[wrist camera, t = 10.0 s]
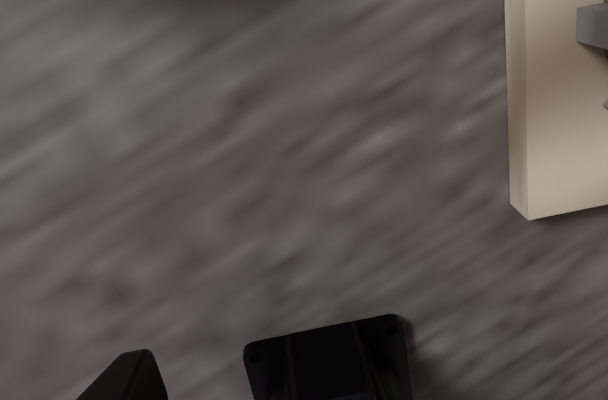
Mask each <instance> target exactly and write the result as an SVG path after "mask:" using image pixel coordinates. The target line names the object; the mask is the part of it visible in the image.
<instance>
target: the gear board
mask: <svg viewBox="0 0 608 400" xmlns="http://www.w3.org/2000/svg"><path fill="white" fill-rule="evenodd" d="M505 34H506V71H507V107H508V143H509V179H510V204H511V205H513V206H514V207H515V208H516V209H517V210H518V211H519V212H520V213H521V214H522V215H523V216H524V217H525V218H526V219H527V220H533V219H538V218H543V217H548V216H552V215H557V214H562V213H567V212H572V211H577V210H582V209H587V208H592V207H597V206H602V205H606V204H608V0H505Z"/></svg>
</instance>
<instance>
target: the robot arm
mask: <svg viewBox="0 0 608 400" xmlns="http://www.w3.org/2000/svg"><path fill="white" fill-rule="evenodd" d="M389 325H394V327H393V328H391V329H385V328H386V327H387V326H389ZM253 353H259V354H261V355H259V356H257V357H253V356H251V354H253ZM243 361H244V365H245V368H246V372H247V375H248V379H249V382H250V386H251V389H252V393H253V397H254V400H412V393H411V385H410V377H409V369H408V362H407V354H406V346H405V338H404V330H403V326H402V324H401V321H400V319H399V318H398V317H397V316H396V315H393V314H386V315H381V316H376V317H372V318H367V319H362V320H357V321H352V322H345V323H341V324H336V325H331V326H326V327H321V328H316V329H311V330H306V331H302V332H297V333H292V334H289V335H284V336H279V337H274V338H269V339H264V340H259V341H255V342H251V343H249V344H247V345H246V346H245V348H244V350H243ZM76 400H168V395H167V391H166V388H165V385H164V383H163V380H162V377H161V374H160V372H159V369H158V366H157V363H156V361H155V358H154V355H153V354H152V352H151V351H150V350H148V349H141V350H136V351H131V352H126V353H123V354H121V355H119V356H118V357H117V358H116V359H115V360H114V361H113V362H112V363H111V364H110V365H109V366H108V367H107V368H106V369H105V370H104V372H103V373H102V374H101V375H100V376H99V377H98V378H97V379H96V380H95V381H94V382H93V383H92V384H91V385H90V386H89V387H88V388H87V389H86V390H85V391H84V392H83V393H82V394H81V395H80V396H79V397H78V398H77V399H76Z"/></svg>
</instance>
